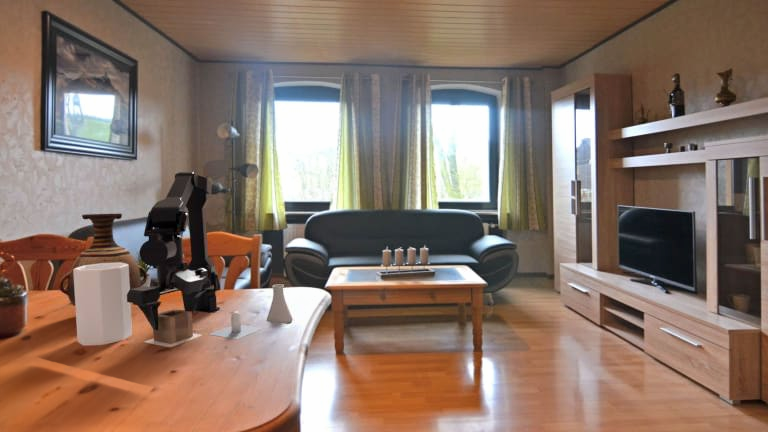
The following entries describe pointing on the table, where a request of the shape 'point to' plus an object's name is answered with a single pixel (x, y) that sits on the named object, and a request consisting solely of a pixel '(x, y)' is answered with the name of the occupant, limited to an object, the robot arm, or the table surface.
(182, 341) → the rod stand
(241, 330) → the plate
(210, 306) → the robot arm
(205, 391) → the table surface
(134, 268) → the vase
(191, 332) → the walnut collar
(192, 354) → the table surface
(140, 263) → the house plant
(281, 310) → the flask
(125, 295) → the cup
